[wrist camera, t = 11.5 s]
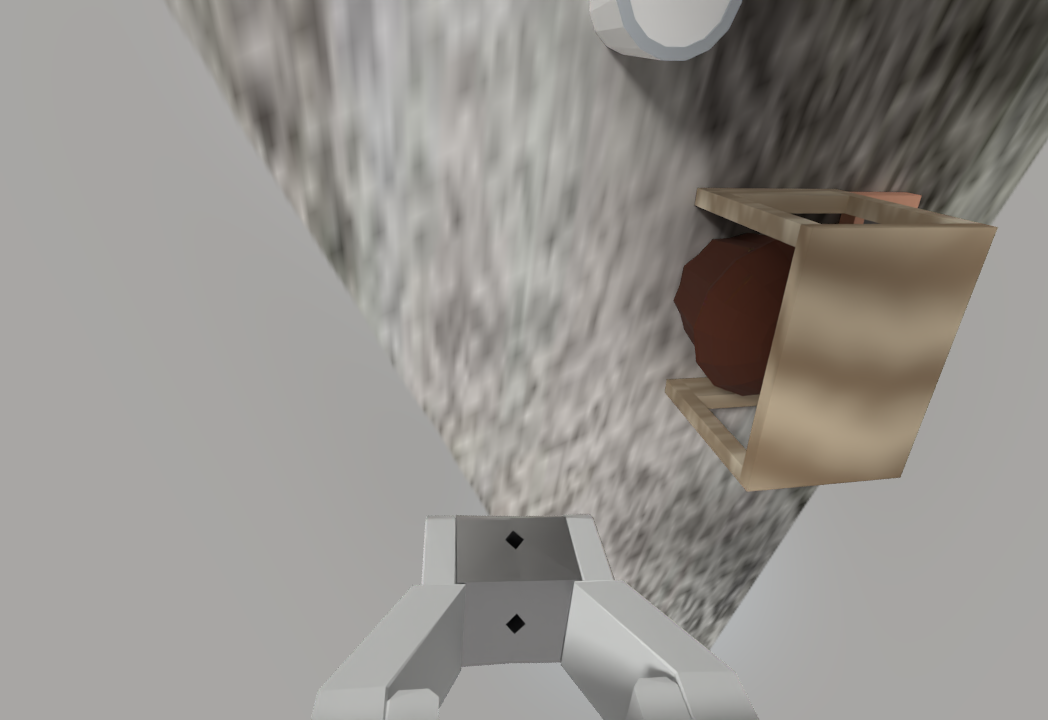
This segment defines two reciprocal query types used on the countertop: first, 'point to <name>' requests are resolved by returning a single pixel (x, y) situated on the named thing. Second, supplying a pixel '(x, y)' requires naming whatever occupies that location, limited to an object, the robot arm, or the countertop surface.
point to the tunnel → (843, 336)
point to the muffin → (734, 307)
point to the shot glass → (662, 26)
